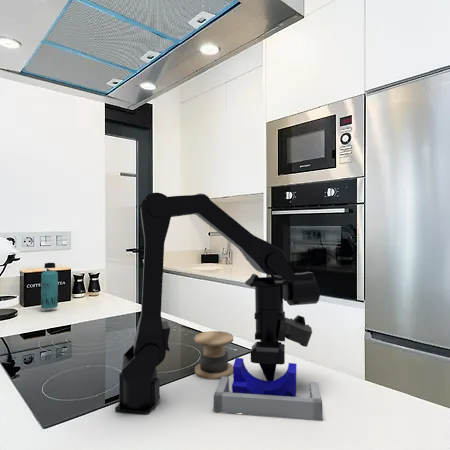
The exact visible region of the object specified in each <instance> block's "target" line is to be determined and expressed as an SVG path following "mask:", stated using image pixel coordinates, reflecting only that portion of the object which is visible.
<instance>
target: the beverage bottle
mask: <svg viewBox="0 0 450 450" xmlns="http://www.w3.org/2000/svg"><path fill="white" fill-rule="evenodd" d="M55 268H56V263H55V262H45V263H44V269H55ZM40 274H41V282H40V288H41V289H40V296H41V297H40V307H41V309H44V310H48V309H56V308H57V307H58V305H59V300H58V299H59V292H58V291H59V277H58V276H59V273H58V272H57V271H56V270H44V271H43V272H42V273H40Z"/></svg>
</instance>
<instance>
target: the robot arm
mask: <svg viewBox="0 0 450 450" xmlns="http://www.w3.org/2000/svg"><path fill="white" fill-rule="evenodd" d="M190 215H191V216H192V215H196V216H197V217H198V218H199V219H200V220H202V221H203V222H204V223H206V224H207V225H208V226H209V227H211V228H212V229H213V230H215V231H216V232H217V233H218V234H220V235H221V236H222V237H223V238H225V239H226V240H227V241H228V242H230V243H231V244H232V245H233V246H234V247H236V248H237V249H238V250H239V251H240V253H241V254H242V256H243V257H244V259H245V260H246V261H247V262H248V263H249V264H250V266H252V267H253V269H254V270H256V272H258V273H262V274H265V275H267V276H263V277H262V276H261V277H260V276H258V275H257V274H256V273H252V274H251V276H250V277H248V279H247V280H246V281H244V284H245V285H246V286H248V287H250V288H254V295H255V296H254V297H255V298H254V299H255V301H254V303H255V311H254V320H255V333H254V340H257V341H255V343H254V344H253V345H252V346H251V349H250V363H252V364H259V366H260V369H261V371H262V374H263V375H264V378H265V381H272V380H275V374H276V369H277V365H285V363H286V362H285V359H286V358H285V357H286V355H285V353H286V352H285V351H286V350H285V344H284V343H282V342H286V340H289V341H292V342H295V343H297V344H299V345H300V346H302V347H305V348H306V347H308V345H309V343H310V340H311V337H312V334H313V329H312V326H310V324H306V320H305V317H304V316H302V315H299V314H298V315H297V316H296V317H294V318H292V317H291V318H288V317H286V312H285V311H284V301H285V302H286V303H287V305H289V306H302V305H303V306H304V305H315V304H318V302H319V300H320V297H321V289H320V287H319V284H318V282H317V280H316V279H315V272H311V271H304V272H296V273H295V272H294V270H293V269H292V268H291V267H290V265H289V264H288V263H287V256H286V253H285V252H284V250H283V249H281V248H279V247H277V246H276V245H274V244H272V243H270V242H268V241H266V240H264V239H262V238H261V237H257V236H256V235H254V234H253V233H251V232H250V231H249V230H248V229H246V227H244V226H242V224H241V223H239V222H238V221H237V220H235V218H233V217H232V216H230V214H228V213H227V212H226V211H224V210H223V209H222V208H221V207H220V206H218V204H216V203H215V202H213V201H212V200H211V199H210V197H209V196H208V195H207V194H205V193H196V194H191V195H189V194H187V195H174V196H173V195H171V196H167V195H166V194H164V193H160V192H152V193H149V194H147V195H146V196H145V197H144V198H143V200H142V201H141V204H140V219H141V226H142V232H143V240H144V249H143V250H144V251H143V252H144V253H143V267H142V268H143V270H142V287H141V288H142V291H141V292H142V293H141V311H140V316H139V319H138V321H137V326H136V330H135V336H134V339H133V344H132V345H131V347H129V348H128V349H127V351H126V352H124V353H123V354H122V364H121V372H119V374H118V375H119V379H118V381H119V382H118V383H119V388H118V389H119V390H118V393H119V394H118V396H119V398H118V399H119V401H118V404H117V405H116V406H115V408H114V411H115V412H116V413H117V412H118V413H119V412H120V413H121V412H122V413H130V414H142V415H143V414H144V415H148V414H150V413H151V411H152V410H153V409H154V407H155V406H156V405H157V403H158V402H159V401H160V399H161V395H160V392H161V390H160V387H161V386H160V381H161V380H160V378H159V377H158V369H157V367H158V366H160V365H161V364H162V362H164V360H165V358H166V355H167V354H166V353H167V352H170V349H171V348H170V346H169V338H170V333H171V328H170V325H169V322H168V320H164V321H163V320H162V302H163V301H162V300H163V299H162V297H163V282H164V281H163V277H164V258H165V257H164V255H165V242H166V238H167V234H168V231H169V228H170V224H171V218H176V217H181V216H190ZM272 276H273V277H277V278H278V279H282V280H275V279H274V278H273V277H272Z"/></svg>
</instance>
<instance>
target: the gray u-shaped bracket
mask: <svg viewBox="0 0 450 450" xmlns="http://www.w3.org/2000/svg"><path fill="white" fill-rule="evenodd" d="M322 399H323V398H322V395H321V391H320V387H319V383H318V381H309V397H301V396H300V397H299V396H296V397H288V396H273V395H258V394H243V393H232V392H230V376H228V377H225V376H222V377H221V379H219V382H218V384H217V386H216V388H215V391H214V394H213V413H218V412H223V413H222V414H232V413H242V414H241V415H245V414H251V415H250V416H258V415H260V416H259V417H270V418H271V417H274V418H287V419H296V420H297V419H298V420H312V421H323V415H324V414H323V400H322ZM224 412H226V413H224Z"/></svg>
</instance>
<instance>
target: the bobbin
mask: <svg viewBox="0 0 450 450" xmlns="http://www.w3.org/2000/svg"><path fill="white" fill-rule="evenodd" d="M233 341H234V335H233V334H232V333H229V332H227V331H219V330H216V331H215V330H213V331H212V330H211V331H210V330H209V331H202V332H200V333H197V334H196V335H195V336H194V343H196V344H197V345H199V346H200V345H201V346H203V347H202V350H203V351H201V352H200V357H199V360H200V363H197V364H196V365H195V366H194V373H195V376H198V377H199V378H201V379H207V380H220V379H221V377H222V376H225V377H230V376H233V365H234V364H232V363H229V356H228V355H229V353H228V352H227V350H226V347H225V346H226V345H230V344H232V342H233Z"/></svg>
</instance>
